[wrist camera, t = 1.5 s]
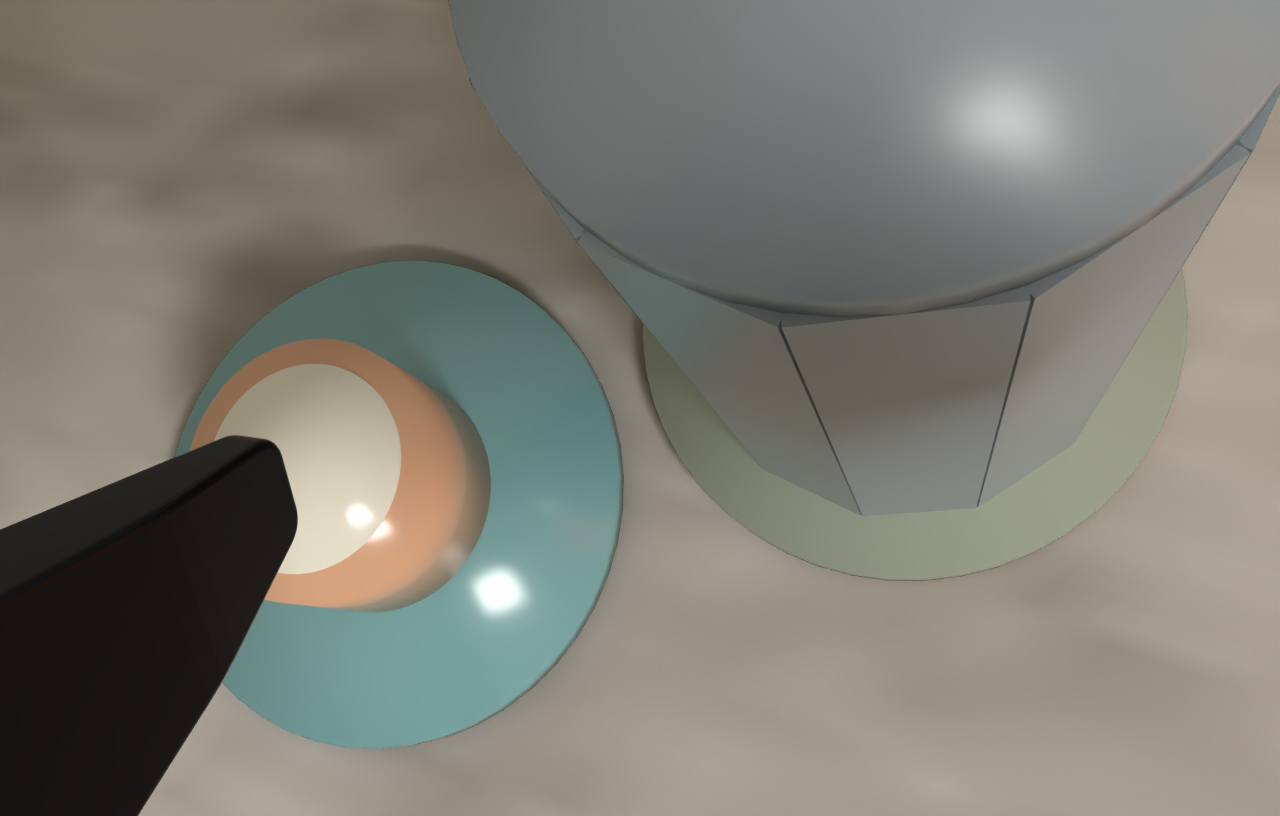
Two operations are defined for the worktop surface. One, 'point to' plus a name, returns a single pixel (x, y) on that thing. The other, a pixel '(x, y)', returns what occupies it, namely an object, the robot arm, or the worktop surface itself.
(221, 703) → the worktop surface
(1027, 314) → the grey canister
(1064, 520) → the mat
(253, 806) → the worktop surface
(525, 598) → the teal disc stand
